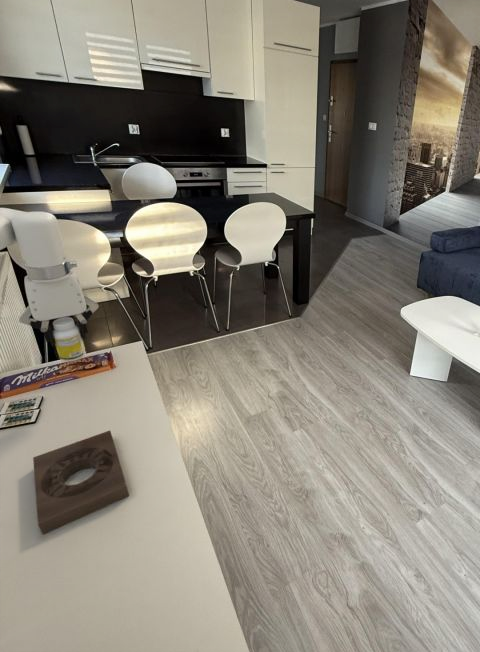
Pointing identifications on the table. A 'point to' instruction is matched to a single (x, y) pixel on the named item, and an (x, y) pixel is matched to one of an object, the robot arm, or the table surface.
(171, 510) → the table surface
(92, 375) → the table surface
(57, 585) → the table surface
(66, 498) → the socket pad
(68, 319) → the supplement bottle
